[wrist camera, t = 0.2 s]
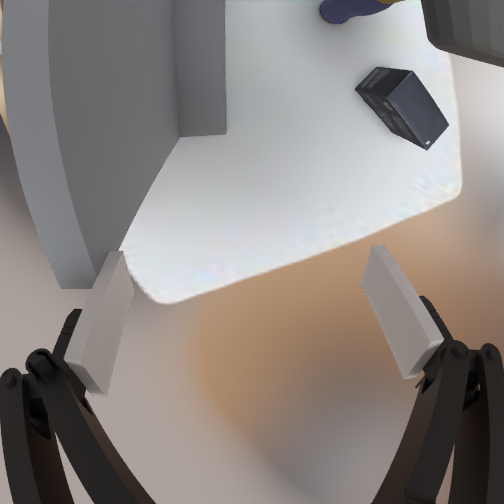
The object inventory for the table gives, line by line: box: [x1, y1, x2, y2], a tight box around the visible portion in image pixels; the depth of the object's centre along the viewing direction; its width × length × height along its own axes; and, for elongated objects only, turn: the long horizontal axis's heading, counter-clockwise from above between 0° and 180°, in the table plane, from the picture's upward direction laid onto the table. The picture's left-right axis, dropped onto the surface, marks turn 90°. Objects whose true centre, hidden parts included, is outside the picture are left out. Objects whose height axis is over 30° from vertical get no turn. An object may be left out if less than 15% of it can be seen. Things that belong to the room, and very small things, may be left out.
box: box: [355, 67, 449, 150], centre depth 31 cm, size 9×6×10 cm, turn 50°
